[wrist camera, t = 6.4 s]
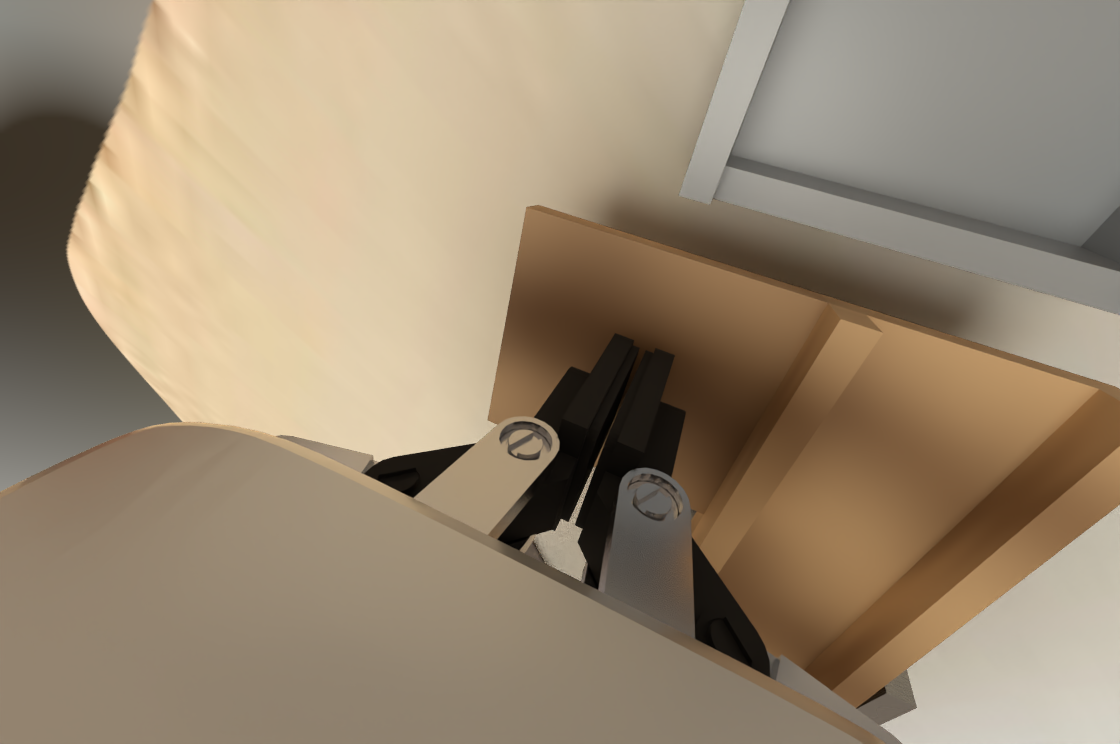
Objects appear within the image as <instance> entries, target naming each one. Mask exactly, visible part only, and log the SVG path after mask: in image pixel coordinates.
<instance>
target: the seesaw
mask: <svg viewBox="0 0 1120 744" xmlns="http://www.w3.org/2000/svg"><path fill="white" fill-rule="evenodd" d="M615 333H616V334H619V335H622V336H625V337H627V338H630V339H633V340H634V344H633V345H634V346H636V347H639V348H640V349H639V352H638V355H637V358H636V360H635V363H634V366H633V369H632V371H631V374H630V377H629V380H628V382H627V385H626V388H625V391H624V393H623V396H622V399H621V402H620V404H619V407H618V410H617V412H616V415H615V418H616V416H617V413H618V411H619V409H620V407H621V405H622V402H623V400H624V398H625V396H626V393H627V391H628V389H629V387H630V385H631V382H632V380H633V378H634V376H635V373H636V371H637V369H638V367H639V364H640V362H641V360H642V358H643V356H644V353H645V351H646V350H647V351H650V352H653V353H654V351H655V348H657V349H660V350H663V351H665V352H668V353H671V354H674V355H675V357H674V360H673V364H672V367H671V370H670V373H669V376H668V379H667V382H666V385H665V389H664V392H663V395H662V398H661V401H662V402H664V403H667V404H669V405H672V406H674V407H677V408H679V409H682V410H685V411H686V415H685V420H684V424H683V429H682V433H681V438H680V442H679V447H678V451H677V455H676V460H675V464H674V469H673V473H672V478H673V479H674V480H676V481H677V482H678V484H679V485H680V486H681V487H682V488H683V489H684V491H685V493H686V494H687V496H688V498H689V502H690V507H691V509H692V510H695V511H697V512H696V513H695V515H694V517H693V519H692V520H691V534H692V538H693V539H694V540H695V542H696V543H697V545H698V546H699V548H700V549H701V551H702V552H703V554H704V555H705V556H706V558H707V559H708V561H709V562H710V564H711V565H712V567H713V568H714V569H715V571H716V572H717V574H718V575H719V577H720V578H721V580H722V581H723V583H724V584H725V585H726V587H727V588H728V590H729V591H730V593H731V594H732V596H733V597H734V598H735V600H736V601H737V603H738V604H739V606H740V607H741V609H742V610H743V612H744V613H745V614H746V616H747V617H748V619H749V620H750V622H751V623H752V625H753V626H754V627H755V629H756V630H757V632H758V634H759V636H760V637H761V639H762V641H763V643H764V645H765V647H766V650H767V651H768V652H769V653H771V654H772V655H773V656H775V657H776V658H778V657H779V656H780V655H781V654H782V655H783V656H785V657H786V658H788V659H789V660H790V661H792V662H793V663H794V664H796V665H797V666H799V667H800V668H801V669H803V670H804V671H805V672H807V673H808V674H810V675H811V676H812V677H814V678H815V679H816V680H818V681H819V682H821V683H822V684H823V685H825V686H826V687H827V688H829V689H830V690H832V691H833V692H834V693H836V694H837V695H838V696H840V697H841V698H843V699H844V700H845V701H847V702H848V703H849V704H851V705H852V706H853V707H855V708H857V707H858V706H860V705H861V704H862V703H863V702H865V701H866V700H867V699H869V698H870V697H871V696H873V695H874V694H875V693H876V692H878V691H879V690H880V689H882V688H883V687H884V686H885V685H887V684H888V683H889V682H891V681H892V680H893V679H895V678H896V677H897V676H898V675H900V674H901V673H902V672H904V671H905V670H906V669H907V668H909V667H910V666H911V665H913V664H914V663H915V662H917V661H918V660H919V659H920V658H922V657H923V656H924V655H926V654H927V653H928V652H929V651H931V650H932V649H933V648H935V647H936V646H937V645H939V644H940V643H941V642H942V641H944V640H945V639H946V638H948V637H949V636H950V635H951V634H953V633H954V632H955V631H957V630H958V629H959V628H961V627H962V626H963V625H964V624H966V623H967V622H968V621H970V620H971V619H972V618H973V617H975V616H976V615H977V614H979V613H980V612H981V611H983V610H984V609H985V608H986V607H988V606H989V605H990V604H992V603H993V602H994V601H996V600H997V599H998V598H999V597H1001V596H1002V595H1003V594H1005V593H1006V592H1007V591H1008V590H1010V589H1011V588H1012V587H1014V586H1015V585H1016V584H1018V583H1019V582H1020V581H1021V580H1023V579H1024V578H1025V577H1027V576H1028V575H1029V574H1030V573H1032V572H1033V571H1034V570H1036V569H1037V568H1038V567H1040V566H1041V565H1042V564H1043V563H1045V562H1046V561H1047V560H1049V559H1050V558H1051V557H1052V556H1054V555H1055V554H1056V553H1058V552H1059V551H1060V550H1062V549H1063V548H1064V547H1065V546H1067V545H1068V544H1069V543H1071V542H1072V541H1073V540H1074V539H1076V538H1077V537H1078V536H1080V535H1081V534H1082V533H1084V532H1085V531H1086V530H1087V529H1089V528H1090V527H1091V526H1093V525H1094V524H1095V523H1096V522H1098V521H1099V520H1100V519H1102V518H1103V517H1104V516H1106V515H1107V514H1108V513H1109V512H1111V511H1112V510H1113V509H1115V508H1116V507H1117V506H1118V505H1120V389H1118V388H1117V387H1115V386H1112V385H1108V384H1105V383H1102V382H1099V381H1096V380H1093V379H1089V378H1086V377H1083V376H1080V375H1077V374H1074V373H1070V372H1067V371H1064V370H1061V369H1058V368H1054V367H1051V366H1048V365H1045V364H1042V363H1039V362H1035V361H1032V360H1029V359H1026V358H1023V357H1020V356H1016V355H1013V354H1010V353H1007V352H1004V351H1000V350H997V349H994V348H991V347H988V346H985V345H981V344H978V343H975V342H972V341H969V340H966V339H962V338H959V337H956V336H953V335H950V334H946V333H943V332H940V331H937V330H934V329H931V328H927V327H924V326H921V325H918V324H915V323H912V322H908V321H905V320H902V319H899V318H896V317H892V316H889V315H886V314H883V313H880V312H877V311H873V310H870V309H867V308H864V307H861V306H857V305H854V304H851V303H848V302H845V301H842V300H838V299H835V298H832V297H829V296H826V295H823V294H819V293H816V292H813V291H810V290H807V289H803V288H800V287H797V286H794V285H791V284H788V283H784V282H781V281H778V280H775V279H772V278H769V277H765V276H762V275H759V274H756V273H753V272H749V271H746V270H743V269H740V268H737V267H734V266H730V265H727V264H724V263H721V262H718V261H715V260H711V259H708V258H705V257H702V256H699V255H695V254H692V253H689V252H686V251H683V250H680V249H676V248H673V247H670V246H667V245H664V244H661V243H657V242H654V241H651V240H648V239H645V238H641V237H638V236H635V235H632V234H629V233H626V232H622V231H619V230H616V229H613V228H610V227H607V226H603V225H600V224H597V223H594V222H591V221H587V220H584V219H581V218H578V217H575V216H572V215H568V214H565V213H562V212H559V211H556V210H553V209H549V208H546V207H543V206H540V205H536V206H530V207H527V208H526V213H525V219H524V224H523V229H522V235H521V240H520V246H519V251H518V257H517V262H516V268H515V273H514V279H513V284H512V290H511V295H510V301H509V306H508V312H507V317H506V322H505V328H504V333H503V339H502V344H501V350H500V355H499V361H498V366H497V372H496V377H495V383H494V388H493V394H492V399H491V405H490V410H489V416H488V420H489V421H491V422H493V423H495V424H499V423H501V422H503V421H504V420H506V419H509V418H512V417H519V416H526V417H532V418H534V416H535V415H536V414H537V412H538V411H539V409H540V408H541V407H542V405H543V404H544V402H545V401H546V400H547V398H548V397H549V395H550V394H551V393H552V391H553V390H554V388H555V387H556V386H557V384H558V383H559V381H560V380H561V379H562V377H563V376H564V375H565V373H566V372H567V370H568V369H569V368H570V367H575V368H577V369H580V370H583V371H585V372H588V373H591V371H592V370H593V368H594V366H595V365H596V363H597V361H598V360H599V358H600V357H601V355H602V353H603V352H604V350H605V349H606V347H607V345H608V344H609V342H610V341H611V339H612V337H613V336H614V334H615ZM615 418H614V420H615ZM613 422H614V421H613ZM612 425H613V423H612ZM611 427H612V426H611ZM610 429H611V428H610ZM608 434H609V433H608ZM607 436H608V435H607ZM606 439H607V437H606ZM605 441H606V440H605ZM604 444H605V442H604ZM604 444H603V446H604ZM603 446H602V449H603ZM602 449H601V451H600V453H599V455H598V457H597V460H596V462H595V464H594V467H596V466H597V463H598V460H599V457H600V455H601V452H602Z"/></svg>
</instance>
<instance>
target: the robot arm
mask: <svg viewBox="0 0 1120 744" xmlns="http://www.w3.org/2000/svg"><path fill="white" fill-rule="evenodd" d="M633 344H634V340H633V339H630V338H627V337H625V336H622V335H619V334H616V333H615V334H614V336H613V337H612V339H611V341H610V342H609V344H608V345H607V347H606V349H605V350H604V352H603V353H602V355H601V357H600V358H599V360H598V361H597V363H596V365H595V366H594V368H593V370H592V371H591V373H588V372H585V371H583V370H580V369H577V368H575V367H570V368H569V369H568V370H567V372H566V373H565V375H564V376H563V377H562V379H561V380H560V381H559V383H558V384H557V386H556V387H555V388H554V390H553V391H552V393H551V394H550V395H549V397H548V398H547V400H546V401H545V402H544V404H543V405H542V407H541V408H540V409H539V411H538V412H537V414H536V415H535V416H534V418H532V417H526V416H519V417H512V418H509V419H506V420H504V421H503V422H501V423H499V424H498V425H497V426H496V427H495V428H493V429H492V430H491V431H490V432H489V433H488V434H486V435H485V436H484V437H483V438H482V439H481V440H480V441H478V442H477V443H475V444H469V445H463V446H457V447H451V448H445V449H439V450H433V451H427V452H421V453H415V454H409V455H403V456H397V457H392V458H389V459H385V460H382V461H381V462H377V461H374V460H373V455H369V454H365V453H361V452H356V451H352V450H348V449H344V448H340V447H335V446H331V445H327V444H323V443H319V442H314V441H310V440H306V439H302V438H298V437H294V436H283V435H280V436H272V435H269V434H266V433H263V432H259V431H255V430H250V429H246V428H241V427H236V426H230V425H220V424H211V423H202V422H180V423H179V422H178V423H166V424H160V425H154V426H149V427H146V428H143V429H139V430H135V431H133V432H130V433H127V434H124V435H122V436H119V437H116V438H114V439H111V440H109V441H107V442H104V443H102V444H99V445H97V446H95V447H93V448H90V449H88V450H86V451H84V452H81V453H79V454H77V455H75V456H73V457H70V458H68V459H66V460H64V461H62V462H60V463H58V464H55V465H53V466H51V467H49V468H47V469H45V470H43V471H41V472H39V473H37V474H35V475H33V476H31V477H29V478H26V479H25V480H23V481H21V482H19V483H17V484H15V485H13V486H11V487H9V488H7V489H5V490H3V491H1V492H0V744H902V743H901V742H900V741H899V740H898V739H897V738H895V737H894V736H893V735H892V734H891V733H889V732H888V731H886V730H885V729H884V728H882V727H881V726H880V725H878V724H877V723H875V722H874V721H873V720H871V719H870V718H869V717H867V716H866V715H864V714H863V713H862V712H860V711H859V710H858V709H856V708H855V707H853V706H852V705H851V704H849V703H848V702H847V701H845V700H844V699H843V698H841V697H840V696H838V695H837V694H836V693H834V692H833V691H832V690H830V689H829V688H827V687H826V686H825V685H823V684H822V683H821V682H819V681H818V680H816V679H815V678H814V677H812V676H811V675H810V674H808V673H807V672H805V671H804V670H803V669H801V668H800V667H799V666H797V665H796V664H794V663H793V662H792V661H790V660H789V659H788V658H786V657H785V656H783V655H782V654H781V655H780V656H779V657H778V658H776V657H775V656H773V655H772V654H771V653H769V652H768V651H767V650H766V647H765V645H764V643H763V641H762V639H761V637H760V636H759V634H758V632H757V630H756V629H755V627H754V626H753V625H752V623H751V622H750V620H749V619H748V617H747V616H746V614H745V613H744V612H743V610H742V609H741V607H740V606H739V604H738V603H737V601H736V600H735V598H734V597H733V596H732V594H731V593H730V591H729V590H728V588H727V587H726V585H725V584H724V583H723V581H722V580H721V578H720V577H719V575H718V574H717V572H716V571H715V569H714V568H713V567H712V565H711V564H710V562H709V561H708V559H707V558H706V556H705V555H704V554H703V552H702V551H701V549H700V548H699V546H698V545H697V543H696V542H695V540H694V539H693V538H692V534H691V507H690V502H689V498H688V496H687V494H686V493H685V491H684V489H683V488H682V487H681V486H680V485H679V484H678V482H677V481H676V480H674V479H673V478H672V473H673V469H674V464H675V460H676V455H677V451H678V447H679V442H680V438H681V433H682V429H683V424H684V420H685V415H686V411H685V410H682V409H679V408H677V407H674V406H672V405H669V404H667V403H664V402H662V401H661V398H662V395H663V392H664V389H665V385H666V382H667V379H668V376H669V373H670V370H671V367H672V364H673V360H674V357H675V355H674V354H671V353H668V352H665V351H663V350H660V349H657V348H655V351H654V353H653V352H650V351H647V350H646V351H645V353H644V356H643V358H642V360H641V362H640V364H639V367H638V369H637V371H636V373H635V376H634V378H633V380H632V382H631V385H630V387H629V389H628V391H627V393H626V396H625V398H624V400H623V402H622V405H621V407H620V409H619V411H618V413H617V416H616V418H615V415H616V412H617V410H618V407H619V404H620V402H621V399H622V396H623V393H624V391H625V388H626V385H627V382H628V380H629V377H630V374H631V371H632V369H633V366H634V363H635V360H636V358H637V355H638V352H639V349H640V348H639V347H636V346H634V345H633ZM614 418H615V420H614ZM613 421H614V422H613ZM612 423H613V425H612ZM611 426H612V427H611ZM610 428H611V429H610ZM608 433H609V434H608ZM607 435H608V436H607ZM606 437H607V439H606ZM605 440H606V441H605ZM604 442H605V444H604ZM603 444H604V446H603ZM602 446H603V449H602ZM601 449H602V452H601V455H600V457H599V460H598V463H597V466H596V468H595V471H594V474H593V477H592V479H591V482H590V485H589V488H588V490H587V493H586V496H585V499H584V501H583V504H582V507H581V510H580V512H579V515H578V518H577V521H576V523H575V525H576V526H578V527H580V528H582V529H583V530H582V532H581V535H580V537H579V540H578V544H579V546H580V548H581V550H582V552H583V555H584V557H585V559H586V564H585V567H584V569H583V574H582V579H581V581H579V580H577V579H575V578H573V577H571V576H569V575H567V574H565V573H563V572H561V571H559V570H557V569H555V568H553V567H551V566H549V565H547V564H545V563H543V562H541V561H539V560H537V559H535V558H533V557H531V556H529V555H527V554H525V552H526V550H527V549H528V548H529V546H530V545H531V544H532V542H533V540H534V538H535V535H536V534H539V533H542V532H546V531H549V530H554V531H555V530H556V528H557V525H558V523H559V521H560V519H563V520H565V521H567V522H569V520H570V518H571V515H572V513H573V511H574V509H575V506H576V504H577V502H578V500H579V498H580V495H581V493H582V491H583V489H584V486H585V484H586V482H587V480H588V477H589V475H590V473H591V471H592V469H593V466H594V464H595V462H596V460H597V457H598V455H599V453H600V451H601Z"/></svg>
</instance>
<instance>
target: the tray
mask: <svg viewBox="0 0 1120 744" xmlns="http://www.w3.org/2000/svg"><path fill="white" fill-rule="evenodd" d="M679 196H681V197H684V198H688V199H691V200H695V201H698V202H702V203H705V204H708V205H710V204H711V201H712V199H716V200H719V201H723V202H726V203H730V204H733V205H737V206H740V207H744V208H747V209H751V210H754V211H758V212H761V213H765V214H768V215H772V216H775V217H779V218H782V219H786V220H789V221H793V222H796V223H800V224H803V225H807V226H810V227H814V228H817V229H821V230H824V231H828V232H831V233H835V234H838V235H842V236H845V237H849V238H852V239H856V240H859V241H863V242H866V243H870V244H873V245H877V246H880V247H884V248H887V249H891V250H894V251H898V252H901V253H905V254H908V255H912V256H915V257H919V258H922V259H926V260H929V261H933V262H936V263H940V264H943V265H947V266H950V267H954V268H957V269H961V270H964V271H968V272H971V273H975V274H978V275H982V276H985V277H989V278H992V279H996V280H999V281H1003V282H1006V283H1010V284H1013V285H1017V286H1020V287H1024V288H1027V289H1031V290H1034V291H1038V292H1041V293H1045V294H1048V295H1052V296H1055V297H1059V298H1062V299H1066V300H1069V301H1073V302H1076V303H1080V304H1083V305H1087V306H1090V307H1093V308H1097V309H1100V310H1104V311H1107V312H1111V313H1114V314H1118V315H1120V0H745V2H744V5H743V8H742V11H741V14H740V17H739V20H738V23H737V26H736V29H735V32H734V35H733V38H732V40H731V43H730V46H729V49H728V52H727V55H726V58H725V61H724V64H723V67H722V70H721V73H720V76H719V79H718V81H717V84H716V87H715V90H714V93H713V96H712V99H711V102H710V105H709V108H708V111H707V114H706V117H705V120H704V122H703V125H702V128H701V131H700V134H699V137H698V140H697V143H696V146H695V149H694V152H693V155H692V158H691V160H690V163H689V166H688V169H687V172H686V175H685V178H684V181H683V184H682V187H681V190H680V193H679Z"/></svg>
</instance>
